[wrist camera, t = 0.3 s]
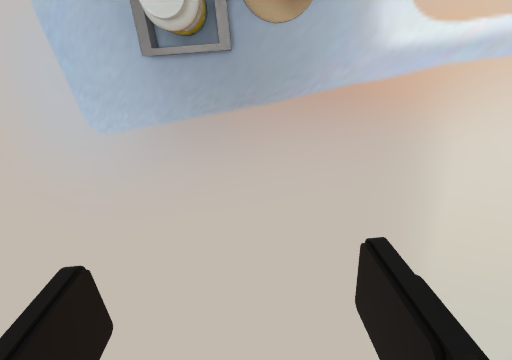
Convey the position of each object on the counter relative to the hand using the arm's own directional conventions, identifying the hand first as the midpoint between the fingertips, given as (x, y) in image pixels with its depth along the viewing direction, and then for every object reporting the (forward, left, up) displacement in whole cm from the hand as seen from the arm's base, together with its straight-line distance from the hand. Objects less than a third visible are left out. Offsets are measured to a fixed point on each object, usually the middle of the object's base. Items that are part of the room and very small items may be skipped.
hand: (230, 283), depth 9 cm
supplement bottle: (-13, -5, -30) cm, 33 cm away
